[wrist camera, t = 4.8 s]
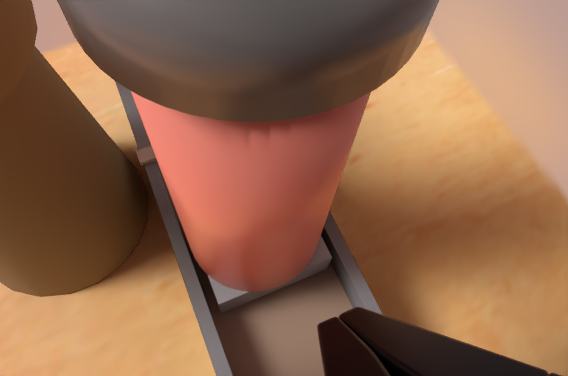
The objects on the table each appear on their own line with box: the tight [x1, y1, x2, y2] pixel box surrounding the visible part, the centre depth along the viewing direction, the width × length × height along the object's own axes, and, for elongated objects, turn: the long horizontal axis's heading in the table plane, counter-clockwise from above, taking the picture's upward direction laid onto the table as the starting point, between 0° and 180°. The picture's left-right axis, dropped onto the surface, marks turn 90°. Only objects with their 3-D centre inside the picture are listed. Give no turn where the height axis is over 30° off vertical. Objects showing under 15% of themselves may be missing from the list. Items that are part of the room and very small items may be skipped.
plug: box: [57, 0, 439, 313], centre depth 10 cm, size 5×5×12 cm
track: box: [115, 81, 383, 376], centre depth 15 cm, size 16×5×2 cm, turn 24°
